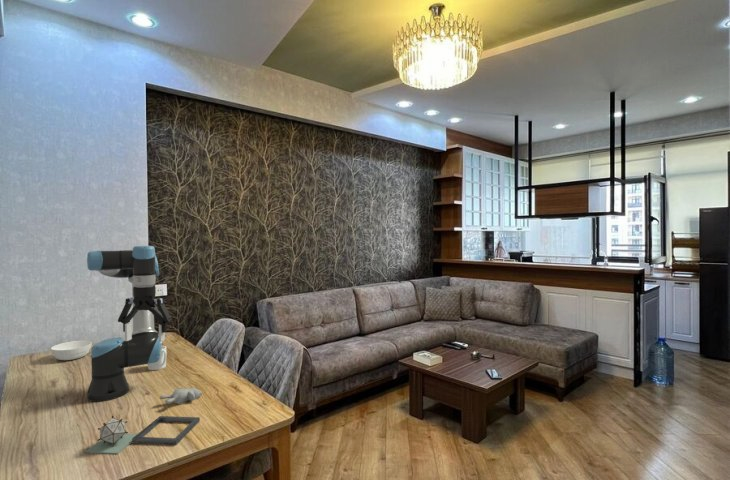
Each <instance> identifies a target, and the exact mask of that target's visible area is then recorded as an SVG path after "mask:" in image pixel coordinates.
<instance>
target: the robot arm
mask: <svg viewBox="0 0 730 480" xmlns="http://www.w3.org/2000/svg"><path fill="white" fill-rule="evenodd" d="M156 255H157V254H156V249H155V247H154V245H135V246H132V249H128V250H124V249H123V250H92V251H88V252H87V257H86V265H87V270H89V271H96V272H98V273H100V274H101V275H103V276H105V277H111V278H114V279H115V278H117V279H123V278H124V279H126V278H128V279H127V281H128V282H129V283H131V285H132V286H131V289H132V290H131V291H132V296H131V297H128V298H125V302H124V306H123V308H122V310H121V312H120V314H119V317H118V319H117V322H118V323H121V324H122V330H123V332H124V338H123V337H111V338H106V339H104V340H101V341H99V342H97V343H95V344H94V345H92V346H91V353H90V354H91V355H90V358H91V379H90V380H91V381H90V383H89V386H88V388H87V392H86V399H87V400H88V401H90V402H104V401H109V400H112V399H116V398H119V397H122V396H124V395H125V394H127V393H128V392H129V391H130V386H129V382H128V379H127V378H126V375H125V368H131V367H138V366H144V365H148V364H150V363H155V362H157V361H159V359H160V353H161V346H163V345H162V343H163V342H164V341H165V340H166V333H167V331H168V328H167V327H168V323H171V322H172V321H173V319H172V317H171V315H170V313H169V311H168V309H167V307H166V305H165V299H164V297H161V298H156V295H157V294H156V293H157V292H156V280H157V277H158V276H160V269H159V263H158V257H157V256H156ZM131 308H132V309H131ZM155 319H156V320H157V321H158V322H159V323H160V324H158V331H157V330H156V329H155ZM131 321H132V322H131Z"/></svg>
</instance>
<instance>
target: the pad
mask: <svg viewBox="0 0 730 480" xmlns="http://www.w3.org/2000/svg"><path fill="white" fill-rule="evenodd" d="M137 434H138V433H125V434H124V435H123V436H122V438H120V439H118V440H117V441H116V442H115V443H114V447H113V444H111V443H109V442H105V443H104V441H103V440H99V441H97V442H96V443H95V444H93V445H92V446H90V447H89V448H88V449H87V450H85V451H84V453H85V454H105V455H108V454H109V455H118V454H120V453H121V452H122V451H124V450H125V449H126V448H127V447H128V446H130V445H131V444H133V443H132V438H133V437H135V436H136V435H137Z"/></svg>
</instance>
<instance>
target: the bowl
mask: <svg viewBox="0 0 730 480" xmlns="http://www.w3.org/2000/svg"><path fill="white" fill-rule="evenodd" d="M92 347H93V342H92V341H91V340H85V339H84V340H74V341H73V340H72V341H67V342H62V343H59V344H55V345H53V346H51V347H50V352H51V354H52V355H53V357H54V358H56V359H57V360H60V361H72V360H78V359H80V358H83V357H84V356H86V355H88V353H89V352H90V350H91V349H92Z"/></svg>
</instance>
